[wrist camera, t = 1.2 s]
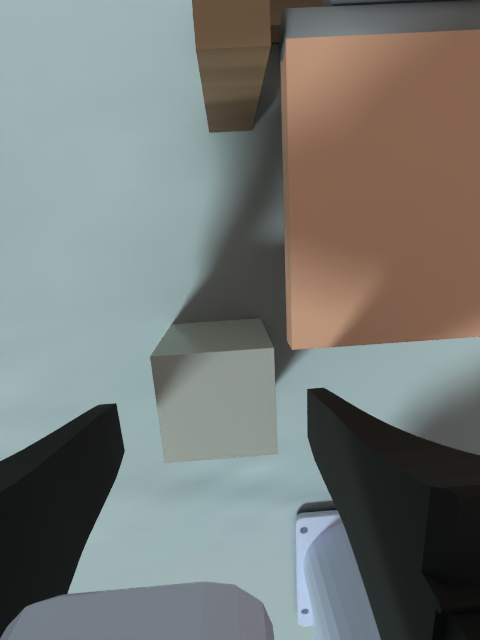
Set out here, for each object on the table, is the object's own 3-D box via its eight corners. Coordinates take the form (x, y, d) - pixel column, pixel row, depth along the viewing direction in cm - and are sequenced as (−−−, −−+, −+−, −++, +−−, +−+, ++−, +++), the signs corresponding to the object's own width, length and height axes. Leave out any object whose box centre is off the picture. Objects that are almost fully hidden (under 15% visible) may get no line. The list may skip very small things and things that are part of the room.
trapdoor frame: (526, 115, 15) (745, 23, 9) (209, 132, 15) (195, 49, 8) (545, -13, 14) (817, -231, 7) (199, 2, 13) (175, -213, 7)
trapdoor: (519, 321, 13) (569, 335, 11) (284, 337, 13) (295, 354, 11) (584, -74, 10) (671, -150, 8) (274, -63, 10) (286, -138, 8)
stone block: (264, 397, 18) (277, 454, 13) (181, 403, 18) (164, 462, 13) (260, 317, 17) (273, 347, 12) (172, 323, 17) (150, 356, 12)
